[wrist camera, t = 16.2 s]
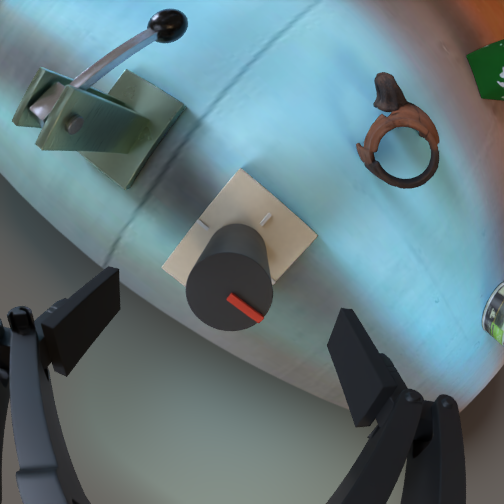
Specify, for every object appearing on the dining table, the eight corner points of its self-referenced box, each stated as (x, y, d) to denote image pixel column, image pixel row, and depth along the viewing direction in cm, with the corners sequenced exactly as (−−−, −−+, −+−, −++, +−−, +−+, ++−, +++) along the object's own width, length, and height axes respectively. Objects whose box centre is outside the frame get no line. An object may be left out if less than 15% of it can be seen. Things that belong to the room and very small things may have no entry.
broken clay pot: (434, 154, 26) (456, 185, 20) (368, 172, 31) (374, 206, 25) (402, 62, 20) (424, 66, 15) (329, 85, 25) (328, 96, 20)
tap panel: (241, 168, 27) (240, 167, 24) (313, 230, 29) (318, 236, 26) (167, 260, 30) (160, 268, 27) (236, 312, 32) (234, 324, 29)
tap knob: (196, 255, 27) (168, 299, 17) (232, 211, 26) (220, 234, 16) (240, 290, 28) (235, 347, 19) (278, 249, 27) (291, 292, 17)
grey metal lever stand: (130, 71, 23) (55, 22, 9) (186, 106, 25) (127, 54, 11) (79, 149, 26) (-13, 149, 12) (129, 189, 27) (39, 210, 13)
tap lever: (166, 25, 18) (170, -1, 15) (192, 38, 19) (199, 11, 15) (37, 125, 14) (22, 100, 10) (60, 145, 15) (44, 119, 11)
